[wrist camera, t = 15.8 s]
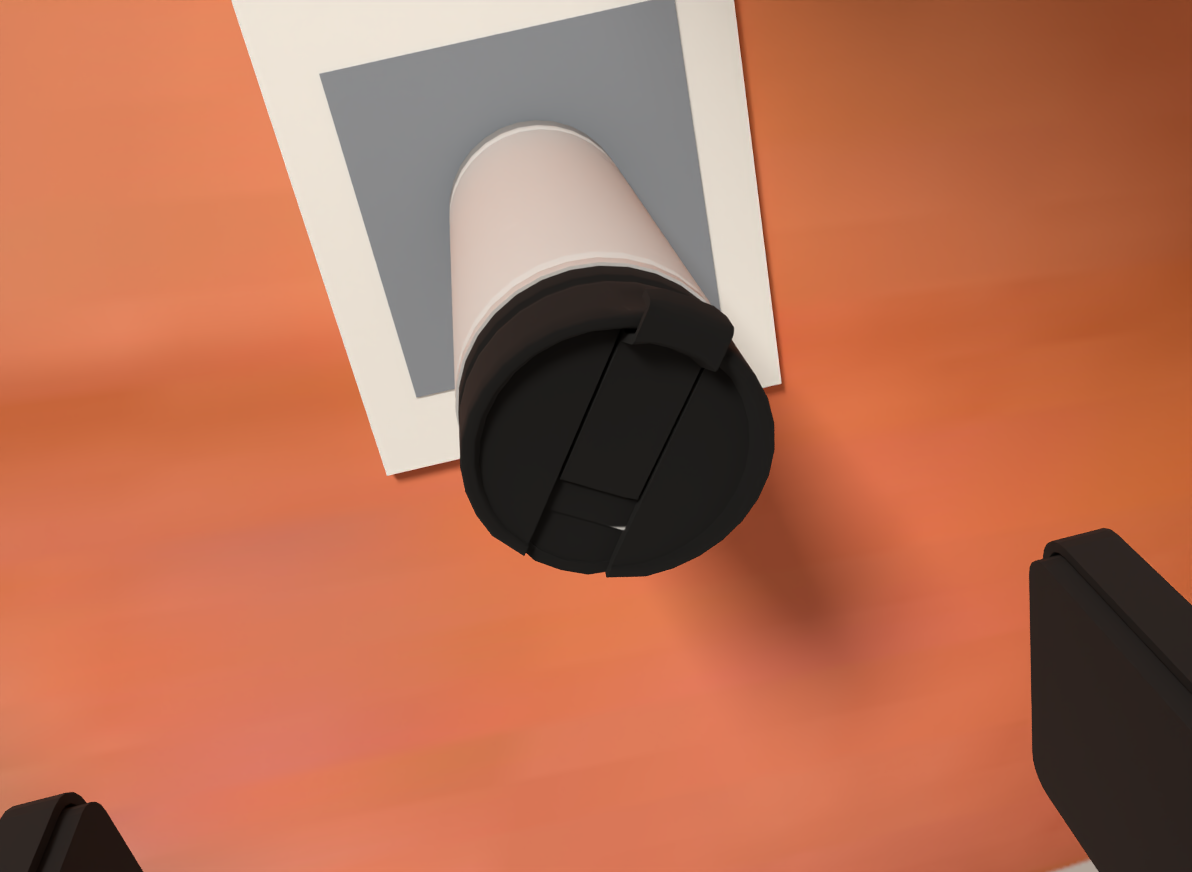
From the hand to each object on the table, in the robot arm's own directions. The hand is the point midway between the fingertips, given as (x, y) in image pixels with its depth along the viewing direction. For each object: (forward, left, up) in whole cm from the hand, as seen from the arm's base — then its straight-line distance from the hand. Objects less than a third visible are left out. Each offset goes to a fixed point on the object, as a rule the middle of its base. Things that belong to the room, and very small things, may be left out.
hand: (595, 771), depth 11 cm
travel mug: (+2, +1, -30) cm, 30 cm away
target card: (+2, +1, -30) cm, 30 cm away
